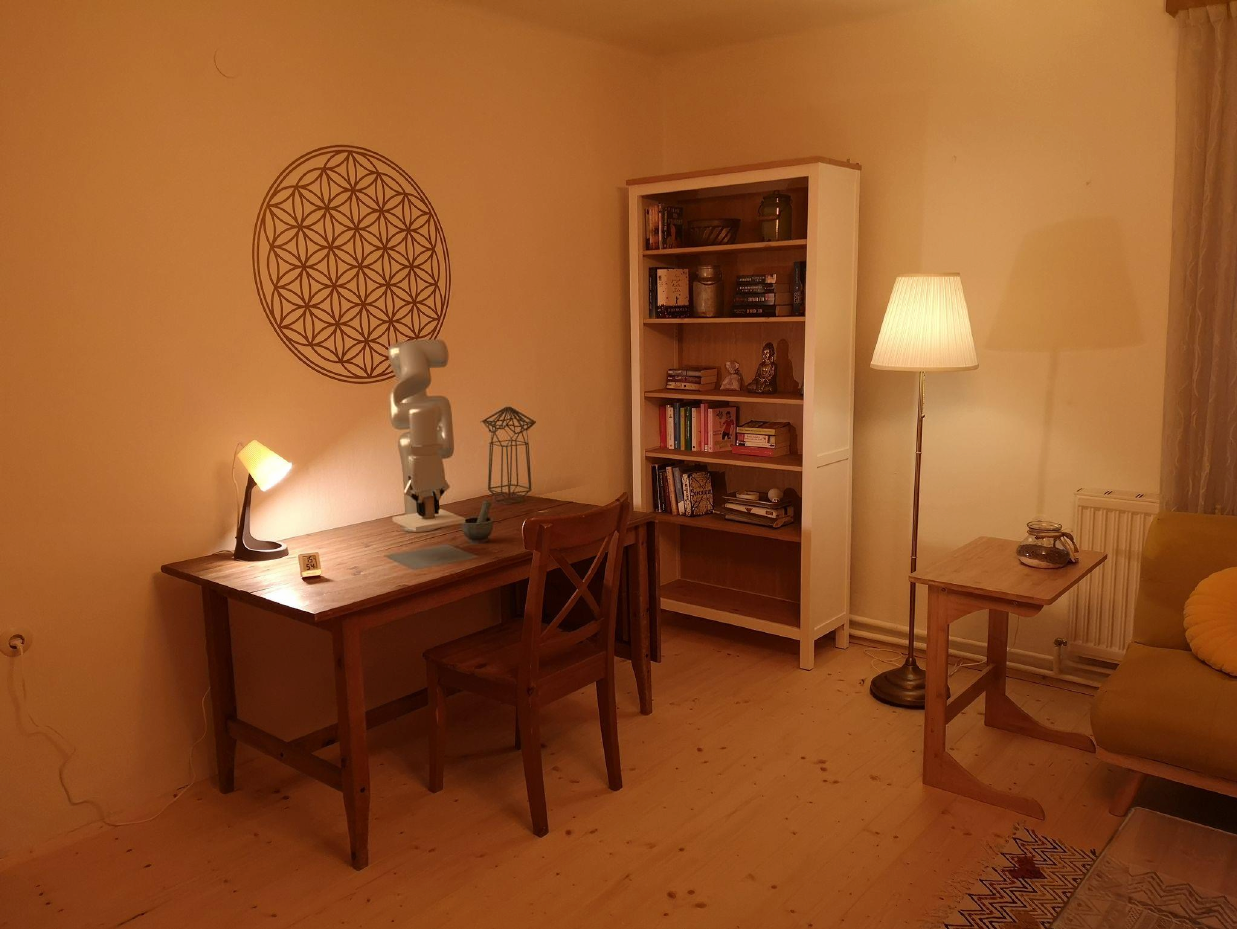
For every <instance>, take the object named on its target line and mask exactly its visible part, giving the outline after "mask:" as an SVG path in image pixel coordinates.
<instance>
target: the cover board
mask: <svg viewBox="0 0 1237 929" xmlns="http://www.w3.org/2000/svg"><path fill="white" fill-rule="evenodd" d="M422 501H423V503H424V506H425V516H424V517H422V516H419V515H418V513H414V514H408V515H405V514H402V515H397V516H392V522H393V523H396V524H398V525H400V526H401V525H403V526H405V527H407V528H409V529H412V530H414V531H421V530H426V529H432V528H437V527H440V528H443V527H448V526H453V525H454V526H455V525H458V524H461V523H465V519H466V518H465V517H462V516H460V515H457V514H455V513H452V512H450V511H447V510H446V509H445V510H444V509H442V508H440V509H439V514H435V506H434V496H423V499H422Z"/></svg>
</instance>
